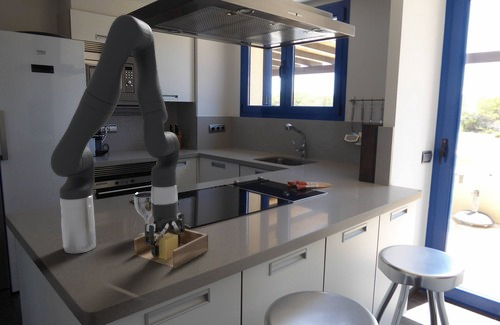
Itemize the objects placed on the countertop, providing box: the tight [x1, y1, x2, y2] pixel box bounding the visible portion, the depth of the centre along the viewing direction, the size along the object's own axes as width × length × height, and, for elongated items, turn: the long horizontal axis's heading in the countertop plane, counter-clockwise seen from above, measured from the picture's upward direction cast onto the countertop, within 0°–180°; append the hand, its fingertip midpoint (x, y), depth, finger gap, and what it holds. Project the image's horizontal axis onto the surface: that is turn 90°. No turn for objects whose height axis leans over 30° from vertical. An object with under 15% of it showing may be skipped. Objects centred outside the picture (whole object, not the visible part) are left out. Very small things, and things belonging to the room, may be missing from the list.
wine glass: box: [133, 191, 153, 236], centre depth 122 cm, size 8×8×15 cm
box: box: [133, 228, 209, 269], centre depth 108 cm, size 17×15×6 cm
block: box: [155, 233, 178, 260], centre depth 106 cm, size 5×5×6 cm
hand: (166, 251), depth 107 cm, fingers open, 8 cm apart
